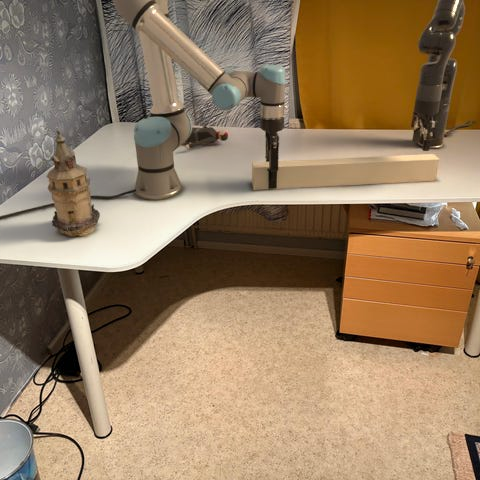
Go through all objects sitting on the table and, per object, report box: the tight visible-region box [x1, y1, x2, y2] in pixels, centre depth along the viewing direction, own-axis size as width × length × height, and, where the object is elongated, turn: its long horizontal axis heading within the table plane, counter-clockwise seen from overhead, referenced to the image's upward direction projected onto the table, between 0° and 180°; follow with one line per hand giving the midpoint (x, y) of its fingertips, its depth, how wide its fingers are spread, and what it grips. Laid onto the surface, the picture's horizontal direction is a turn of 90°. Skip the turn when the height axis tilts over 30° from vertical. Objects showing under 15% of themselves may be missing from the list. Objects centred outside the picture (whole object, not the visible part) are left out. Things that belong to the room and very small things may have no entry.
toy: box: [184, 124, 229, 150], centre depth 219 cm, size 26×6×30 cm
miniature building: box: [46, 129, 101, 237], centre depth 148 cm, size 13×14×30 cm
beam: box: [251, 153, 440, 191], centre depth 180 cm, size 62×5×8 cm, turn 95°
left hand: (271, 184), depth 180 cm, fingers closed on beam, 5 cm apart
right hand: (420, 146), depth 178 cm, fingers open, 8 cm apart
